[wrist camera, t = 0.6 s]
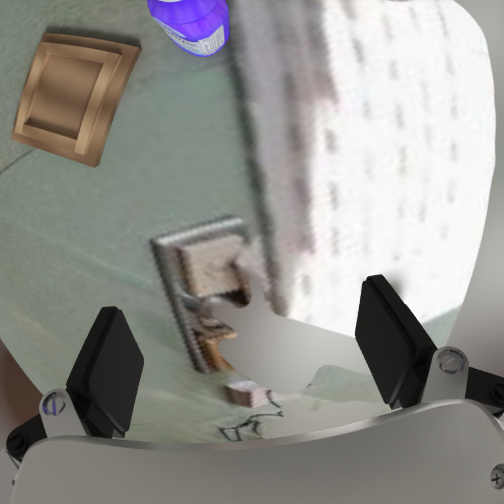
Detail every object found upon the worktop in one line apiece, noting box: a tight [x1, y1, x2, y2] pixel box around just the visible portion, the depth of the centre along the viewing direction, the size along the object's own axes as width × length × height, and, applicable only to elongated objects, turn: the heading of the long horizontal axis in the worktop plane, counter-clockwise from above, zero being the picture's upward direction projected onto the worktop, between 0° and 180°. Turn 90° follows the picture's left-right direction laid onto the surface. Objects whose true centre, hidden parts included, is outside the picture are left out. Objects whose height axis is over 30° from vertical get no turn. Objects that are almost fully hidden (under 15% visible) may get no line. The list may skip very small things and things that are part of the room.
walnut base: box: [11, 33, 142, 167], centre depth 26 cm, size 16×16×3 cm
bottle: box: [147, 0, 230, 57], centre depth 19 cm, size 7×6×17 cm
